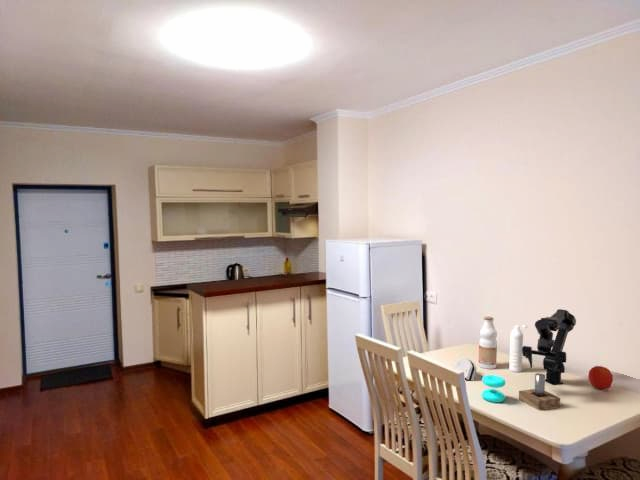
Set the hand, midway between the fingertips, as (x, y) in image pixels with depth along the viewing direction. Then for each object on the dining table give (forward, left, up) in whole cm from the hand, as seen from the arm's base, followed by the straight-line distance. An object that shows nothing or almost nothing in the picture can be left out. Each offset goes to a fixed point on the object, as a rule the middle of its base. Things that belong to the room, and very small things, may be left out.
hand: (542, 370), depth 213 cm
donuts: (+22, -5, -13) cm, 27 cm away
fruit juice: (-5, -44, -13) cm, 47 cm away
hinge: (+16, -36, -14) cm, 42 cm away
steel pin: (+5, +5, -13) cm, 15 cm away
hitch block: (+5, +5, -13) cm, 15 cm away
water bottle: (-17, -34, -13) cm, 40 cm away
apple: (-38, -1, -13) cm, 40 cm away
